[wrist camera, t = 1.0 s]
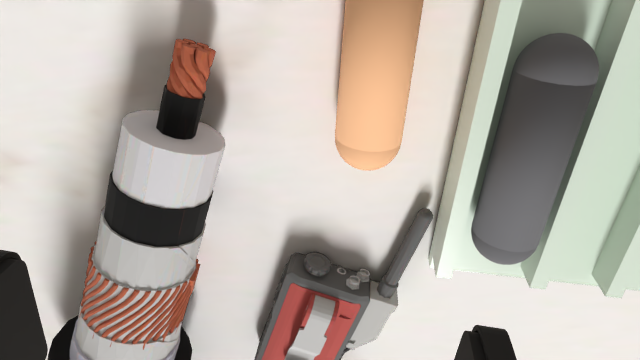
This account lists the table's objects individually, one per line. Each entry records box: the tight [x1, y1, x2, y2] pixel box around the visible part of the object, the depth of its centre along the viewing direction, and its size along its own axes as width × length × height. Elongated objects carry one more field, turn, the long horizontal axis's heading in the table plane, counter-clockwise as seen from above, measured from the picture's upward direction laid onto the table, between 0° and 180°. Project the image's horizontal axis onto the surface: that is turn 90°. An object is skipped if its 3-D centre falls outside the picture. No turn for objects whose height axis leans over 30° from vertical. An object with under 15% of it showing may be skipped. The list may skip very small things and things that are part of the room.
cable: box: [48, 39, 225, 360], centre depth 32 cm, size 10×34×10 cm, turn 158°
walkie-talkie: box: [255, 209, 433, 360], centre depth 35 cm, size 9×4×20 cm
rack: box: [429, 0, 640, 298], centre depth 27 cm, size 20×18×3 cm
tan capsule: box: [335, 0, 424, 170], centre depth 25 cm, size 14×4×4 cm, turn 177°
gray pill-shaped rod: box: [471, 33, 599, 265], centre depth 26 cm, size 14×4×4 cm, turn 177°
